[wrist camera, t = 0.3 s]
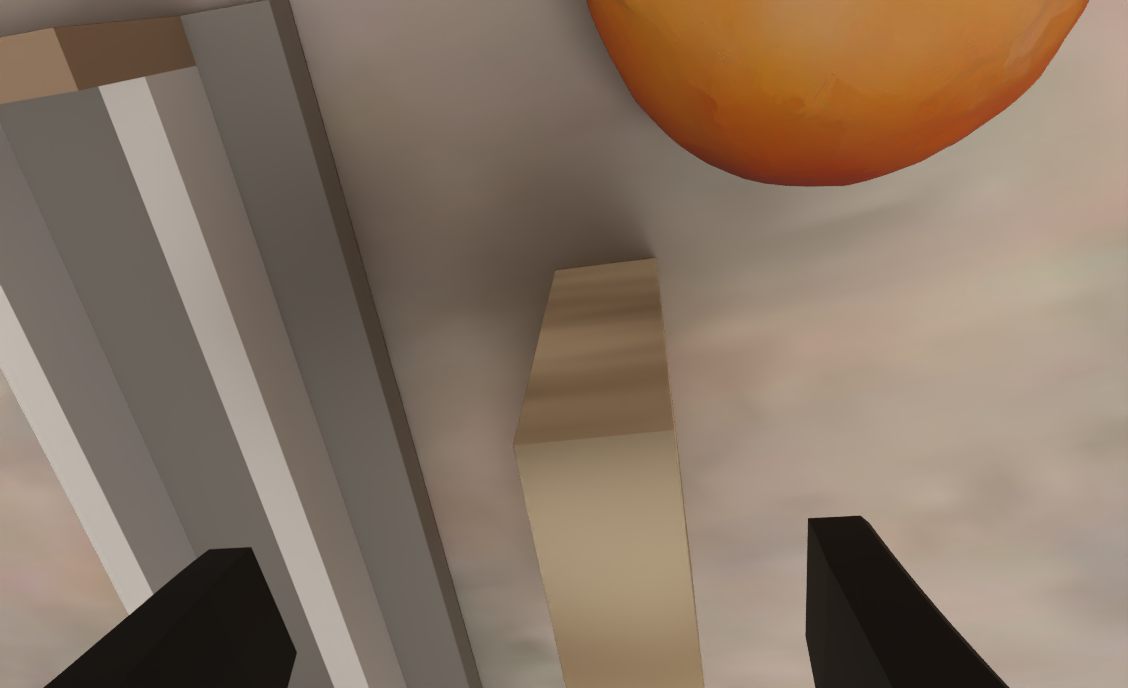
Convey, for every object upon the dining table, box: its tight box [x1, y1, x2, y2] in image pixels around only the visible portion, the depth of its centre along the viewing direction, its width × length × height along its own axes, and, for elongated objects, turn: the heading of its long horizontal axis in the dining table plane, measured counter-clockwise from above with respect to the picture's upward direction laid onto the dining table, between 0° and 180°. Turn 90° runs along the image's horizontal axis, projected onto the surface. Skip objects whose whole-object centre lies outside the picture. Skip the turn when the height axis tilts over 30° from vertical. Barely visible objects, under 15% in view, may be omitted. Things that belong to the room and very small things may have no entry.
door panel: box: [513, 258, 705, 688], centre depth 18 cm, size 10×2×8 cm, turn 9°
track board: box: [0, 0, 482, 688], centre depth 20 cm, size 24×10×5 cm, turn 9°
